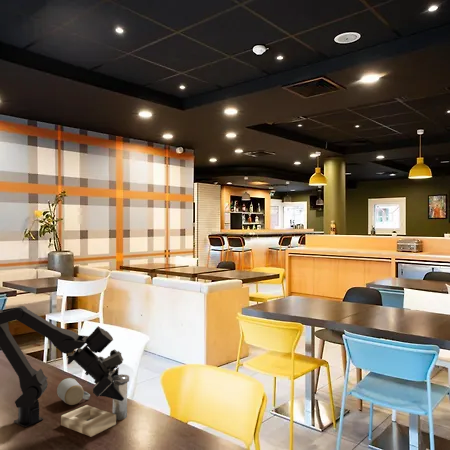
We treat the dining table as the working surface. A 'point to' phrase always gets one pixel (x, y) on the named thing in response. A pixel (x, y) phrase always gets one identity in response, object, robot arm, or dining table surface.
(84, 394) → the ceramic mug
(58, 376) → the dining table surface
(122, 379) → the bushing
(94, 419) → the plate
